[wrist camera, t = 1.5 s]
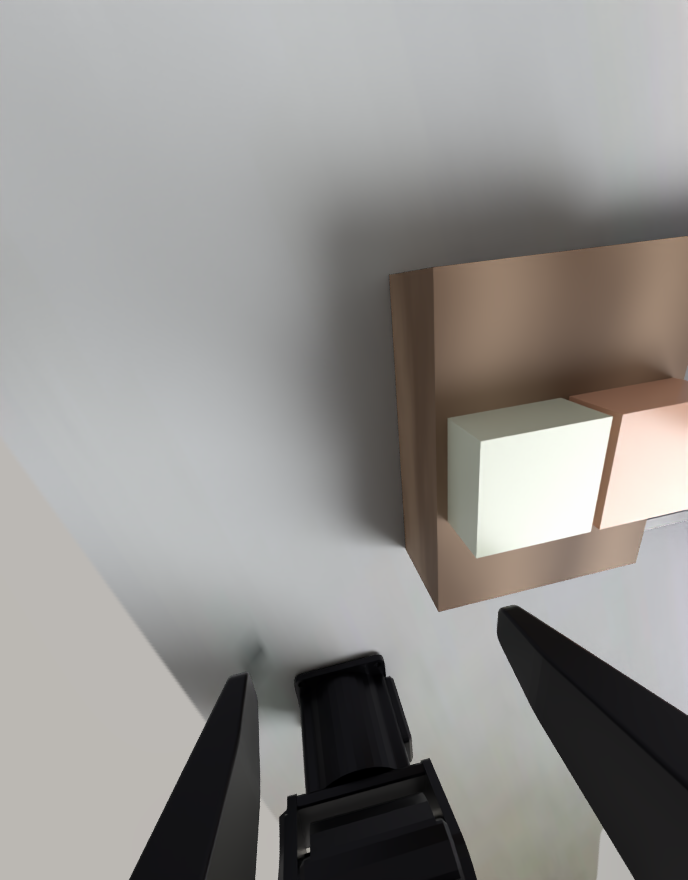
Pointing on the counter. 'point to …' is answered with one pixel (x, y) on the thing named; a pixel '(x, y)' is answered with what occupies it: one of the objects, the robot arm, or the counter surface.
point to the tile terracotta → (642, 451)
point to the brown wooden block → (524, 384)
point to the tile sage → (525, 474)
